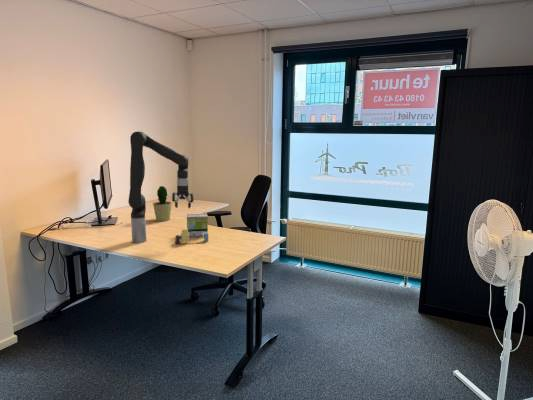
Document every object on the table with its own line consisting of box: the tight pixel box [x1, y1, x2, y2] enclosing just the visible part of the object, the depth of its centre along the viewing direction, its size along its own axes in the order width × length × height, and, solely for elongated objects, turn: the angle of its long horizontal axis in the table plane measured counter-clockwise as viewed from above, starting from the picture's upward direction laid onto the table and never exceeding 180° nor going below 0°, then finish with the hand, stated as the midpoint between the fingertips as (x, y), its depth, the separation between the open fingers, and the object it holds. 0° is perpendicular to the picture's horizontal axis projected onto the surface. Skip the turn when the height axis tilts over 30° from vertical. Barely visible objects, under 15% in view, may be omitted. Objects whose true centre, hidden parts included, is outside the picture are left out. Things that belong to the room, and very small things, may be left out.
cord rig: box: [174, 231, 209, 246], centre depth 258 cm, size 22×6×6 cm, turn 108°
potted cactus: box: [152, 185, 173, 222], centre depth 319 cm, size 15×15×30 cm
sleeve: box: [180, 228, 190, 243], centre depth 256 cm, size 5×5×8 cm
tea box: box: [186, 213, 209, 235], centre depth 276 cm, size 15×10×15 cm
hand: (182, 207), depth 257 cm, fingers open, 8 cm apart
